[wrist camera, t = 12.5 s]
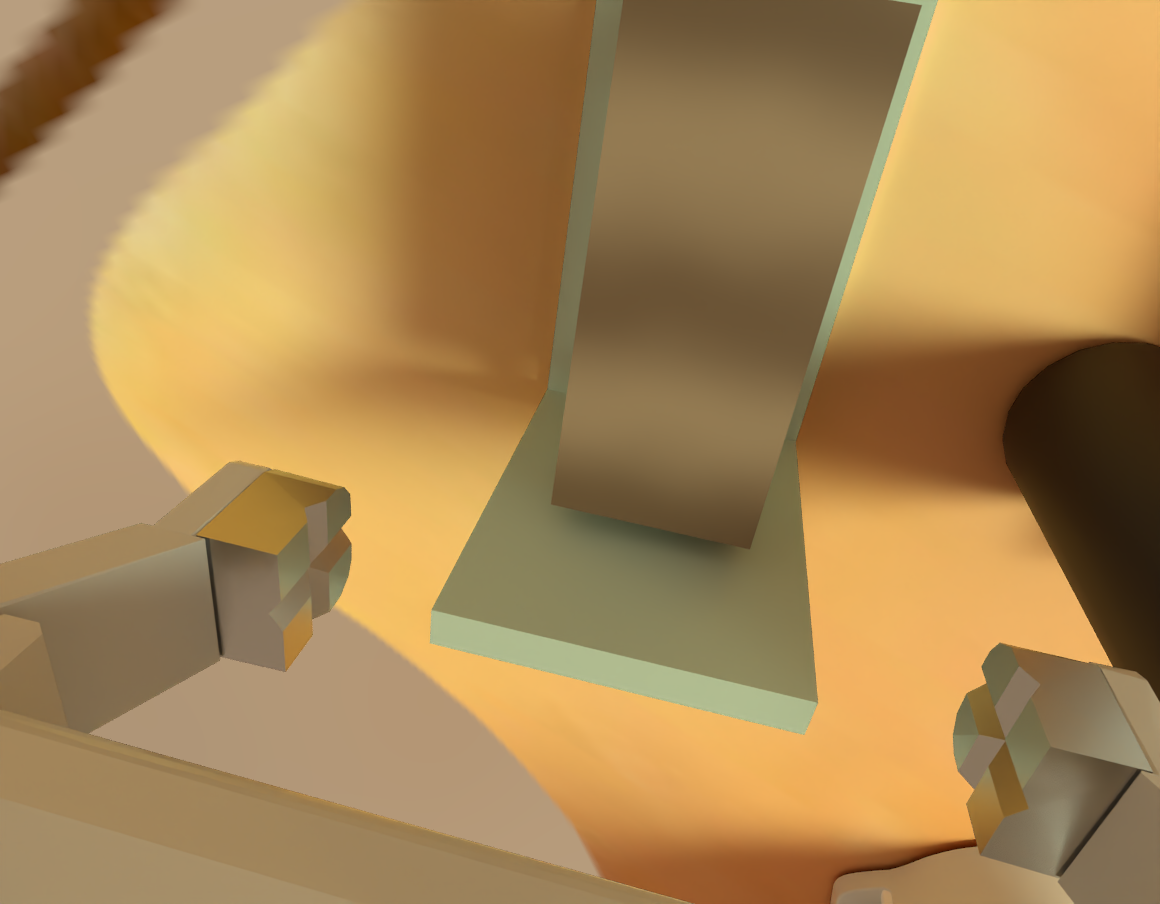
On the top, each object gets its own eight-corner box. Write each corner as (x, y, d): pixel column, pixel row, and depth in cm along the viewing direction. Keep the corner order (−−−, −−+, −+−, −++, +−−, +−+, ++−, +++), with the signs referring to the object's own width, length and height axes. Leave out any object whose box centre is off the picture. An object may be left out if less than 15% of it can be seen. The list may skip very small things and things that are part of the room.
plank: (648, -38, 19) (629, -42, 16) (896, 2, 19) (921, 4, 16) (573, 447, 27) (550, 504, 24) (750, 486, 26) (749, 549, 23)
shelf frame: (786, 459, 32) (804, 735, 20) (547, 408, 33) (430, 643, 21) (966, -101, 22) (1201, -202, 11) (618, -151, 23) (475, -295, 11)
